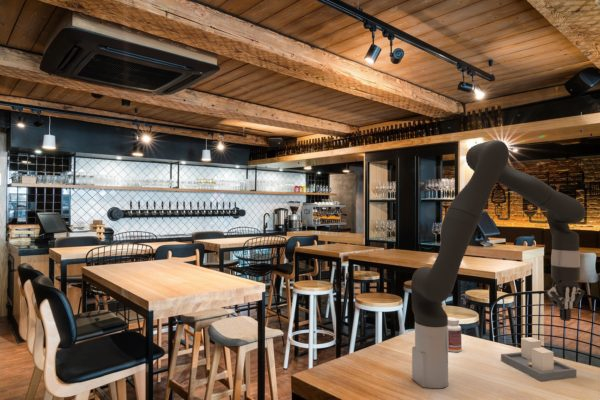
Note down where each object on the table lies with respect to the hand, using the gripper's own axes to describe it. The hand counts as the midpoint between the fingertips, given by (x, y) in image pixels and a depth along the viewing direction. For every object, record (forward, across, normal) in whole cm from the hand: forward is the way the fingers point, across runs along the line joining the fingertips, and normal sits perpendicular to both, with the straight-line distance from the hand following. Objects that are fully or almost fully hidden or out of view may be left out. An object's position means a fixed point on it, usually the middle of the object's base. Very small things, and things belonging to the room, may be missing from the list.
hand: (565, 320), depth 122 cm
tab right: (+15, -8, 0) cm, 17 cm away
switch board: (+16, -6, +4) cm, 18 cm away
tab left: (+15, -4, +9) cm, 18 cm away
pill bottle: (+17, -22, +26) cm, 38 cm away
